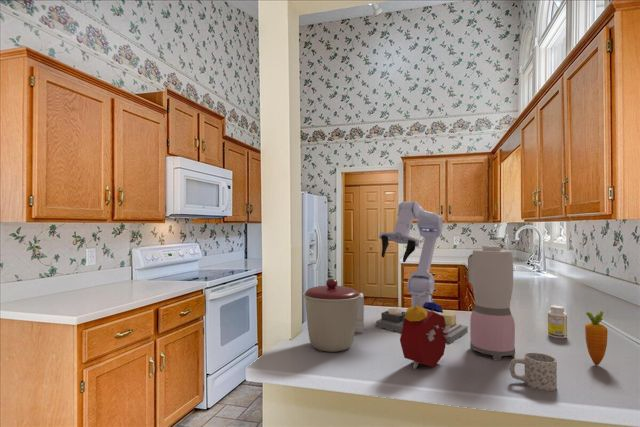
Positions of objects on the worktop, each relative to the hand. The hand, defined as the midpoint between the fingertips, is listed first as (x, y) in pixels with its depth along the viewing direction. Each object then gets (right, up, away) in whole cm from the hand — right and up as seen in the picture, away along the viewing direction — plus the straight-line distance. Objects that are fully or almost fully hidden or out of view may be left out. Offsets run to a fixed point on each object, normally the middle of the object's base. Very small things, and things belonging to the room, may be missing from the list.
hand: (393, 258), depth 129 cm
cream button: (+3, -23, +9) cm, 25 cm away
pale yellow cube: (+20, -24, 0) cm, 31 cm away
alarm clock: (+4, -26, -29) cm, 39 cm away
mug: (+26, -26, -40) cm, 55 cm away
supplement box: (-14, -26, +2) cm, 30 cm away
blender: (+25, -26, -18) cm, 41 cm away
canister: (-22, -26, -15) cm, 37 cm away
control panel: (+11, -26, +4) cm, 29 cm away
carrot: (+50, -26, -28) cm, 63 cm away
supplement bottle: (+56, -27, -3) cm, 62 cm away
